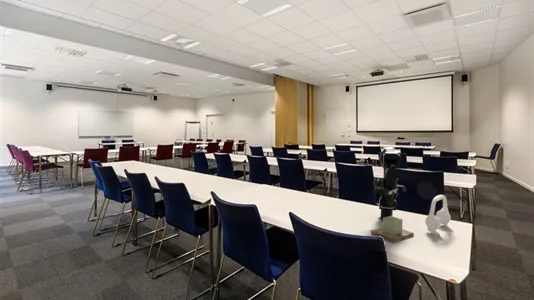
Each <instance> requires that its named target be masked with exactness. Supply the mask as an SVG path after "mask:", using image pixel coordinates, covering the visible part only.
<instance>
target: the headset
mask: <svg viewBox="0 0 534 300" xmlns="http://www.w3.org/2000/svg"><path fill="white" fill-rule="evenodd" d="M441 200H442V207H441V209H440V210H438V211H437V212H436V214H435V211H436V203H437V202H438V201H441ZM447 201H448V200H447V197H446V196H445V195H444V194H438V195H436V196H435V197H433V198H432V200H431V205H430V209H429V213H428V215H427V217H426V218H425V225H426V227H427V231H428V232H430V233H431V234H433V235H437V236H440V235H441V233H439V232H438V231H437V230H438V229H440V228H441V224H442V226H446V227H447V226H448V224H449V223H450V221H451V219H452V217H451V214H450V212H449V208H448V202H447Z"/></svg>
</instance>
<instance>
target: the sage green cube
mask: <svg viewBox="0 0 534 300" xmlns="http://www.w3.org/2000/svg"><path fill="white" fill-rule="evenodd" d="M382 228H383V231H384V232H387V233H389V234H392V235H396V234H400V233H402V229H403V219H402V218H399V217H397V216H393V215H392V216H389V217H385V218H383V220H382Z"/></svg>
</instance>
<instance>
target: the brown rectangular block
mask: <svg viewBox="0 0 534 300" xmlns="http://www.w3.org/2000/svg"><path fill="white" fill-rule="evenodd" d="M370 234H371V235H373V236H376V237H378V236H381V237H383V238H384V239H383V238H382V239H383V240H386V241H387V242H391V243H396V242H399V241H401V240H405V239H408V238H412V237H414V235H415V233H414V232H412V231H410V230H406V229H404V228H402V233H400V234H396V235H392V234H389V233H387V232H384V231H383V227H379V228H376V229H373V230H371V231H370Z"/></svg>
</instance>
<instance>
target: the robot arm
mask: <svg viewBox="0 0 534 300" xmlns="http://www.w3.org/2000/svg"><path fill="white" fill-rule="evenodd" d="M379 162H380V166H381V167H382V169H383V177H382V179H381V180H378V179H374V180H373V181H372V186H373V187H375V188H374V189H373V194H375V195H380V198H379V200H378V209H379V210H380V217H378V220H382V221H383V218H385V217H389V216H393V213H394V211H396V210H397V205H398V202H397V200H396V199H397V197H398V196H399V195H400V192H398V191H401V193H406V192H407V187H406V186H405V185H401V184H397V183H398V182H399V180H400V179H399V177H400V175H401V174H400V171H399V169H398V167H401V166H402V164H403V163H402V156H401V154H399V152H397V151H394V147H391V146H390V147H388V146H387V147H383V150H382V151H380V153H379Z"/></svg>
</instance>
